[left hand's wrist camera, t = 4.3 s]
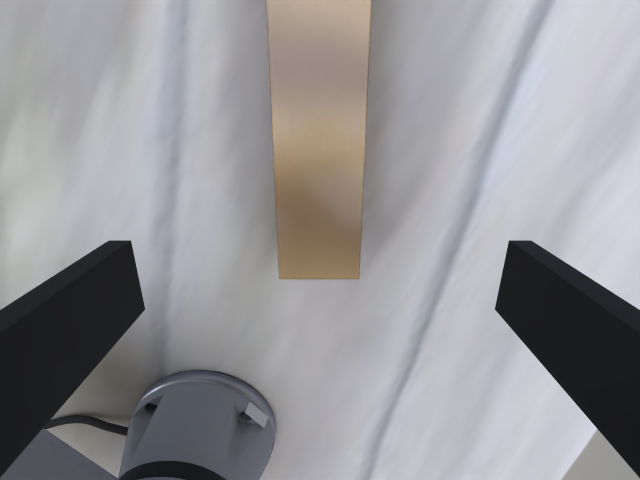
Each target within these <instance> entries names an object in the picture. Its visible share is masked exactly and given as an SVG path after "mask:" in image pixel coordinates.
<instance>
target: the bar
mask: <svg viewBox="0 0 640 480" xmlns="http://www.w3.org/2000/svg"><path fill="white" fill-rule="evenodd" d="M371 3H372V0H266V5H267V27H268V49H269V70H270V92H271V113H272V135H273V157H274V178H275V200H276V221H277V243H278V264H279V279H359V275H360V252H361V229H362V207H363V184H364V162H365V139H366V116H367V94H368V71H369V49H370V26H371Z"/></svg>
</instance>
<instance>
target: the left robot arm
mask: <svg viewBox="0 0 640 480" xmlns="http://www.w3.org/2000/svg"><path fill="white" fill-rule="evenodd" d="M144 310H145V307H144V302H143V297H142V292H141V287H140V282H139V278H138V273H137V268H136V263H135V258H134V253H133V248H132V244H131V241H108V242H106V243H104V244H103V245H101V246H100V247H98V248H97V249H95V250H93V251H92V252H90V253H89V254H87V255H86V256H84V257H83V258H81V259H79V260H78V261H76V262H75V263H73V264H72V265H70V266H68V267H67V268H65V269H64V270H62V271H61V272H59V273H58V274H56V275H54V276H53V277H51V278H50V279H48V280H47V281H45V282H43V283H42V284H40V285H39V286H37V287H36V288H34V289H33V290H31V291H29V292H28V293H26V294H25V295H23V296H22V297H20V298H18V299H17V300H15V301H14V302H12V303H11V304H9V305H8V306H6V307H4V308H3V309H1V310H0V480H259V479H260V477H261V475H262V473H263V471H264V469H265V467H266V465H267V463H268V461H269V459H270V456H271V453H272V450H273V446H274V439H275V431H276V426H275V419H274V416H273V413H272V411H271V409H270V407H269V405H268V404H267V402H266V401H265V400H264V398H263V397H262V396H261V395H260V394H259V393H258V392H257V391H255V390H254V389H253V388H252V387H250V386H249V385H247V384H246V383H244V382H242V381H240V380H238V379H236V378H233V377H231V376H228V375H224V374H221V373H216V372H209V371H188V372H181V373H177V374H173V375H170V376H168V377H165V378H163V379H161V380H160V381H158V382H157V383H155V384H154V385H153V386H151V387H150V388H149V389H148V390H147V391H146V393H145V394H144V395H143V397H142V398H141V400H140V402H139V403H138V405H137V407H136V408H135V410H134V412H133V415H132V418H131V421H130V424H129V428H127V427H123V426H119V425H116V424H112V423H108V422H105V421H102V420H100V419H97V418H94V417H90V416H69V417H63V418H59V419H55V420H51V421H50V419H51V418H52V417H53V416H54V415H55V414H56V412H57V411H58V410H59V409H60V408H61V407H62V405H63V404H64V403H65V402H66V401H67V400H68V398H69V397H70V396H71V395H72V394H73V393H74V391H75V390H76V389H77V388H78V387H79V386H80V384H81V383H82V382H83V381H84V380H85V379H86V377H87V376H88V375H89V374H90V373H91V372H92V370H93V369H94V368H95V367H96V366H97V365H98V363H99V362H100V361H101V360H102V359H103V358H104V356H105V355H106V354H107V353H108V352H109V351H110V349H111V348H112V347H113V346H114V345H115V344H116V342H117V341H118V340H119V339H120V338H121V337H122V336H123V334H124V333H125V332H126V331H127V330H128V329H129V327H130V326H131V325H132V324H133V323H134V322H135V320H136V319H137V318H138V317H139V316H140V315H141V313H142V312H143V311H144ZM495 310H496V311H497V312H498V313H499V315H500V316H501V317H502V318H503V319H504V320H505V322H506V323H507V324H508V325H509V326H510V327H511V329H512V330H513V331H514V332H515V333H516V334H517V336H518V337H519V338H520V339H521V340H522V341H523V342H524V344H525V345H526V346H527V347H528V348H529V349H530V351H531V352H532V353H533V354H534V355H535V356H536V358H537V359H538V360H539V361H540V362H541V363H542V365H543V366H544V367H545V368H546V369H547V370H548V372H549V373H550V374H551V375H552V376H553V377H554V379H555V380H556V381H557V382H558V383H559V384H560V386H561V387H562V388H563V389H564V390H565V391H566V393H567V394H568V395H569V396H570V397H571V398H572V400H573V401H574V402H575V403H576V404H577V405H578V407H579V408H580V409H581V410H582V411H583V412H584V414H585V415H586V416H587V417H588V418H589V419H590V421H591V422H592V423H593V424H594V425H595V426H596V428H597V429H598V430H599V431H600V432H601V433H602V434H603V436H604V437H605V438H606V439H607V440H608V441H609V443H610V444H611V445H612V446H613V447H614V448H615V450H616V451H617V452H618V453H619V454H620V455H621V457H622V458H623V459H624V460H625V461H626V462H627V464H628V465H629V466H630V467H631V468H632V469H633V471H634V472H635V473H636V474H637V475H638V476H639V478H640V310H639V309H637V308H636V307H634V306H632V305H631V304H629V303H628V302H626V301H625V300H623V299H622V298H620V297H618V296H617V295H615V294H614V293H612V292H611V291H609V290H607V289H606V288H604V287H603V286H601V285H600V284H598V283H597V282H595V281H593V280H592V279H590V278H589V277H587V276H586V275H584V274H582V273H581V272H579V271H578V270H576V269H575V268H573V267H572V266H570V265H568V264H567V263H565V262H564V261H562V260H561V259H559V258H557V257H556V256H554V255H553V254H551V253H550V252H548V251H547V250H545V249H543V248H542V247H540V246H539V245H537V244H536V243H534V242H532V241H509V244H508V248H507V253H506V258H505V263H504V268H503V273H502V278H501V282H500V287H499V292H498V297H497V302H496V307H495ZM68 423H84V424H89V425H92V426H95V427H97V428H100V429H103V430H106V431H110V432H114V433H118V434H122V435H126V436H127V438H126V443H125V448H124V453H123V458H122V463H121V467H120V472H119V477H118V479H117V478H116V477H115V476H113V475H112V474H110V473H109V472H107V471H106V470H104V469H103V468H101V467H100V466H98V465H97V464H96V463H94V462H93V461H91V460H90V459H88V458H87V457H85V456H84V455H82V454H81V453H79V452H78V451H76V450H75V449H73V448H72V447H71V446H69V445H68V444H66V443H65V442H63V441H62V440H60V439H59V438H57V437H56V436H54V435H53V434H51V433H50V432H48V431H47V430H46V429H48V428H51V427H55V426H58V425H63V424H68Z"/></svg>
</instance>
